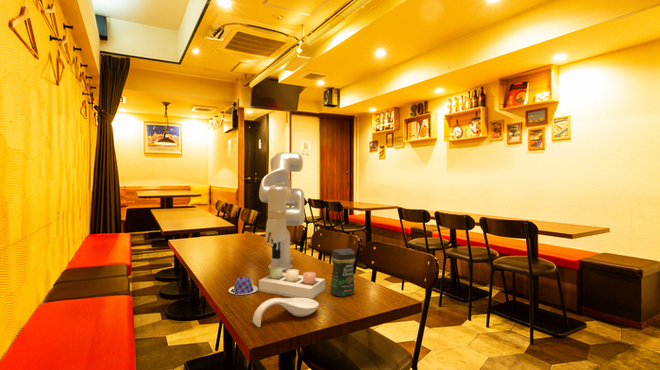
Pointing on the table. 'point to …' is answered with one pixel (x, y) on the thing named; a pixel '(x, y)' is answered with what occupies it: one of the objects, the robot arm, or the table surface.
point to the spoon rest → (287, 307)
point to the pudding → (243, 286)
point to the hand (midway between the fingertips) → (276, 258)
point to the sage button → (276, 273)
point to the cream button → (292, 275)
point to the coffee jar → (343, 272)
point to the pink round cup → (309, 278)
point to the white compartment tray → (291, 287)
